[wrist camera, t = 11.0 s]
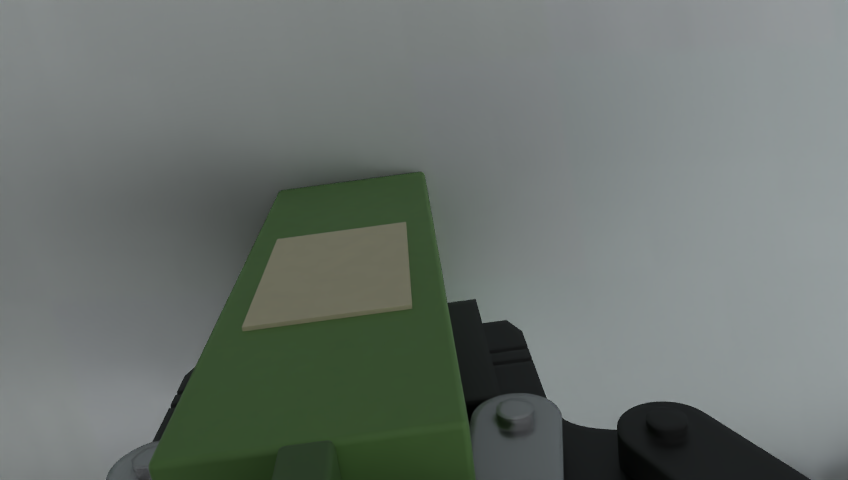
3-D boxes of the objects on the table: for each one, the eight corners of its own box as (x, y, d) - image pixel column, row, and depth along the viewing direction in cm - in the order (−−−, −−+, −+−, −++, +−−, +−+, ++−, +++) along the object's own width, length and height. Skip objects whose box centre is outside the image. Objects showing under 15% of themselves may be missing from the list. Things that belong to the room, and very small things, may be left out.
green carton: (277, 186, 17) (116, 513, 7) (423, 167, 17) (477, 465, 7) (316, 379, 19) (232, 865, 9) (448, 361, 19) (521, 826, 9)
